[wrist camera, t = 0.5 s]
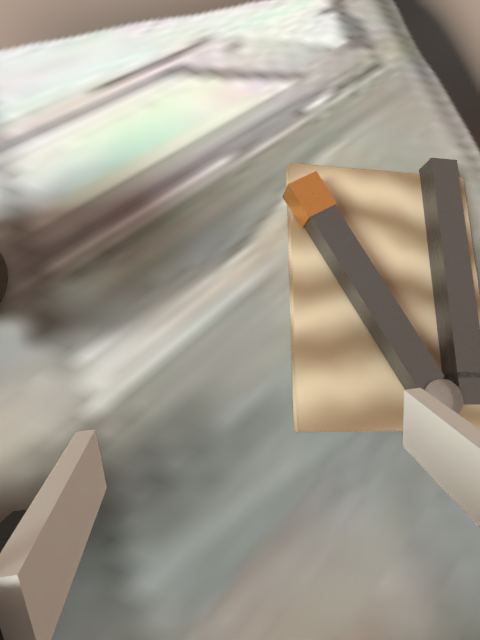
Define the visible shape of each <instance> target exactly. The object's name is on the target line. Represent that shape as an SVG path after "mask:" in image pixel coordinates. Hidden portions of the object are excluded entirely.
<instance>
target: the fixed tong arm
mask: <svg viewBox="0 0 480 640" xmlns="http://www.w3.org/2000/svg"><path fill="white" fill-rule="evenodd" d="M419 173H420V182H421V191H422V200H423V209H424V217H425V226H426V235H427V244H428V253H429V261H430V270H431V279H432V288H433V297H434V306H435V314H436V323H437V332H438V341H439V350H440V358H441V367H442V373H443V374H444V376H445V377H444V378H443V379H446V380H450V381H452V382H453V383H454V384H456V385H457V386H458V388H459V389H460V391H461V393H462V396H463V405H480V325H479V318H478V310H477V303H476V296H475V289H474V281H473V274H472V267H471V260H470V253H469V245H468V238H467V231H466V224H465V216H464V209H463V202H462V195H461V187H460V180H459V173H458V166H457V160H450V159H439V158H431V159H430V160H429V161H428V162H427V163H426V164H425V165H424V166H423V167H422V168H421V169H420V170H419Z"/></svg>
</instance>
